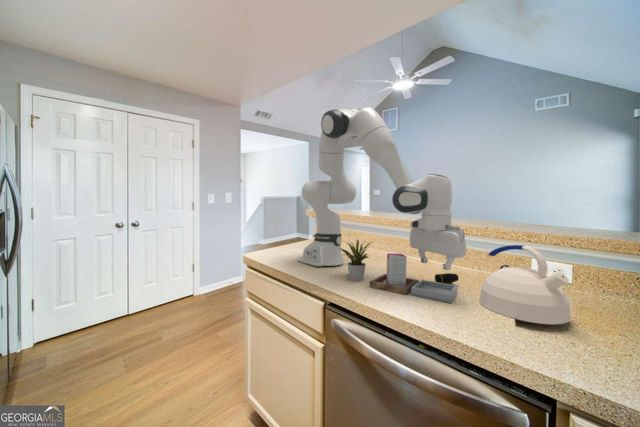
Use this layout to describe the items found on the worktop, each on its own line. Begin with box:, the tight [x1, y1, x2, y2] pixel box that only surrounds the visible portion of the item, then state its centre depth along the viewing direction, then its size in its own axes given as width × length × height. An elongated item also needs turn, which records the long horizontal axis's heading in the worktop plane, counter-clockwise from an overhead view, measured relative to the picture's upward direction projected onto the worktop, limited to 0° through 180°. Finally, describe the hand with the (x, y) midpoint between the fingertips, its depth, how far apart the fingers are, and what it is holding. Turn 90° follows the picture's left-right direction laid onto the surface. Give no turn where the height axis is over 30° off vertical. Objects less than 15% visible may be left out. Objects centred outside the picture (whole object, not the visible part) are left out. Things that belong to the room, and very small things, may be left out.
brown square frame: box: [368, 273, 420, 296], centre depth 91 cm, size 13×13×2 cm
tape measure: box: [434, 272, 459, 284], centre depth 94 cm, size 7×7×4 cm
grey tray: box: [410, 279, 459, 304], centre depth 83 cm, size 12×12×2 cm
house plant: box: [339, 239, 373, 282], centre depth 100 cm, size 14×14×16 cm
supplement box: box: [385, 253, 407, 287], centre depth 91 cm, size 6×6×12 cm
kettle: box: [478, 244, 572, 325], centre depth 72 cm, size 20×21×18 cm
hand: (434, 266), depth 83 cm, fingers open, 8 cm apart
